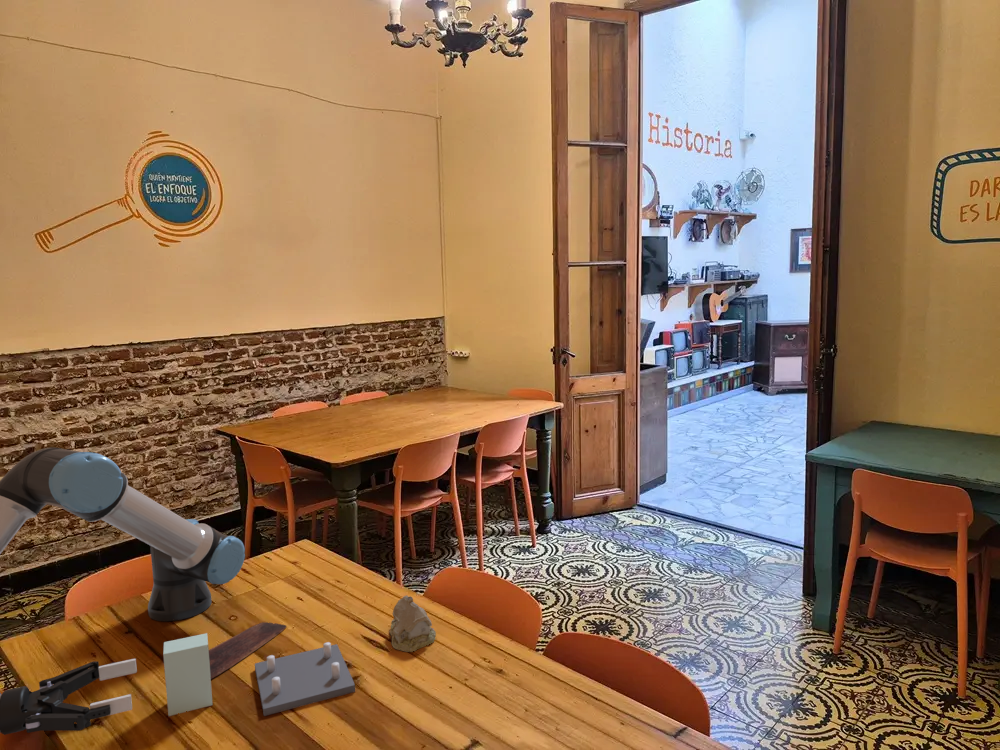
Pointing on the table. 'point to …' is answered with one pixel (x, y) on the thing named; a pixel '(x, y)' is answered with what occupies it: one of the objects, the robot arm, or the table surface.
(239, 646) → the wooden tablet
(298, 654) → the peg plinth
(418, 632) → the ceramic model
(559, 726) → the table surface
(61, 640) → the table surface
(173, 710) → the mint board
